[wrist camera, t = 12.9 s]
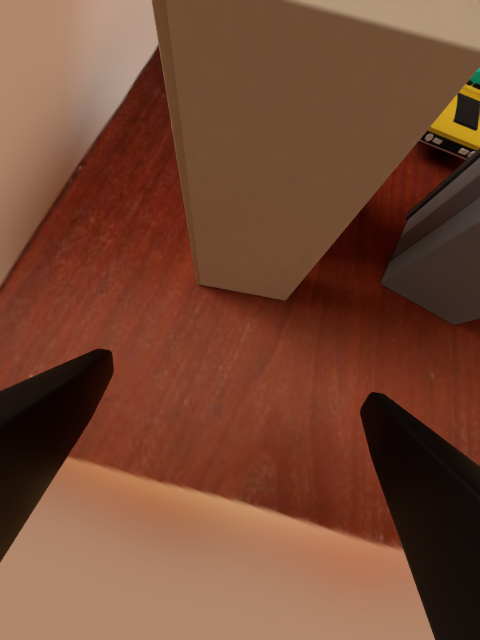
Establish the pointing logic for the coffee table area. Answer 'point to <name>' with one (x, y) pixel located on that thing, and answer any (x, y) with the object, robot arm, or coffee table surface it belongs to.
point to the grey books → (442, 249)
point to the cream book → (299, 119)
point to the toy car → (458, 123)
